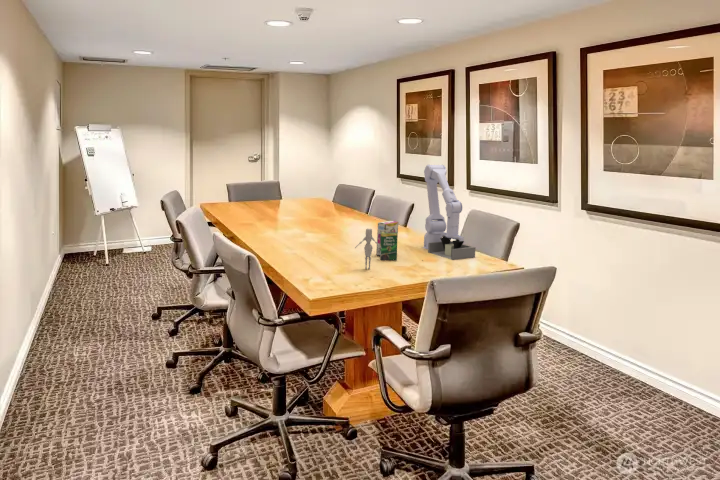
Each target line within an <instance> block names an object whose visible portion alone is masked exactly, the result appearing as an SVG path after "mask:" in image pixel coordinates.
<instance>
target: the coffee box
mask: <svg viewBox="0 0 720 480" xmlns="http://www.w3.org/2000/svg"><path fill="white" fill-rule="evenodd" d="M380 246H381V247H380V256H379V259H380V261H397V260H398V238H397V232H392V233H385V232H381V233H380Z"/></svg>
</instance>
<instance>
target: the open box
mask: <svg viewBox="0 0 720 480" xmlns="http://www.w3.org/2000/svg"><path fill="white" fill-rule="evenodd" d="M453 241H454V240H450V244H453ZM427 253H429V254H433V255H436V256H438V257H442V258H445V259H449V260H451V261H455V260H464V259H472V258H473V259H474V258H476V247H475V246H472V245H467V244H464V243H463V244H462V246H461V248H458V249H452V255H451V256H449V255H445V252H444V247H443V244H442V241H441V242H430V243H429V244H428V249H427Z"/></svg>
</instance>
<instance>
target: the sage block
mask: <svg viewBox="0 0 720 480" xmlns="http://www.w3.org/2000/svg"><path fill="white" fill-rule="evenodd" d="M452 249H454V244H445V255H449V256H451V255H452Z"/></svg>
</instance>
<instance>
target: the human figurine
mask: <svg viewBox="0 0 720 480" xmlns="http://www.w3.org/2000/svg"><path fill="white" fill-rule="evenodd" d="M364 241H366V243H365V245H364V249H363V250H364V255H365V257H364V259H365V263H364V264H365V265H364V266H365V268H364V269H365V270H367V269H368V270H371V260H372V258H371V256H372V251H373V245H372V244H371V242H372V241H373V242H375V244H376V246H377V245H379V244H378V243H377V240H375V238H374V237H373V229H372V228H366V229H365V236H364V238H363V239H362V240H361V241H359V243H358V244H357V245H356V246H355V247H354V249H357V247H359V246H360V245H361V244H362V243H363V242H364ZM379 246H380V245H379ZM380 247H381V246H380ZM367 265H368V268H367Z"/></svg>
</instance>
